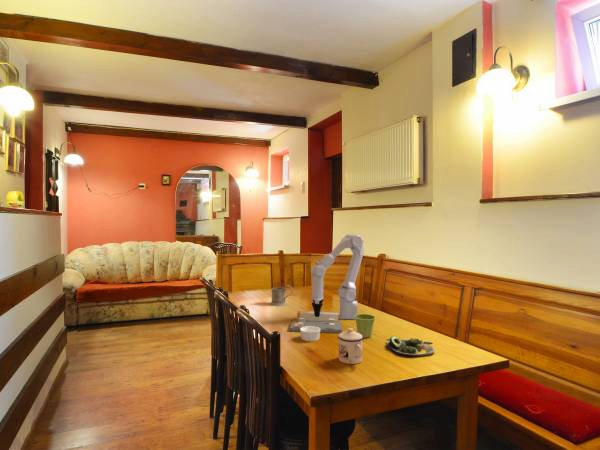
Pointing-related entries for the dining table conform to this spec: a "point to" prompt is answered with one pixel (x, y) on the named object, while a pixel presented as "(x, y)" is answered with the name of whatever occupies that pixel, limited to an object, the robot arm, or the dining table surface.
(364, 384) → the dining table surface
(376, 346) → the dining table surface
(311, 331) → the ramekin
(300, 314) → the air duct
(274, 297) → the mug
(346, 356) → the teacup with lid
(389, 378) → the dining table surface
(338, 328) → the collar stand
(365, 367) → the dining table surface
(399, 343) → the salad plate
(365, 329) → the plant pot
